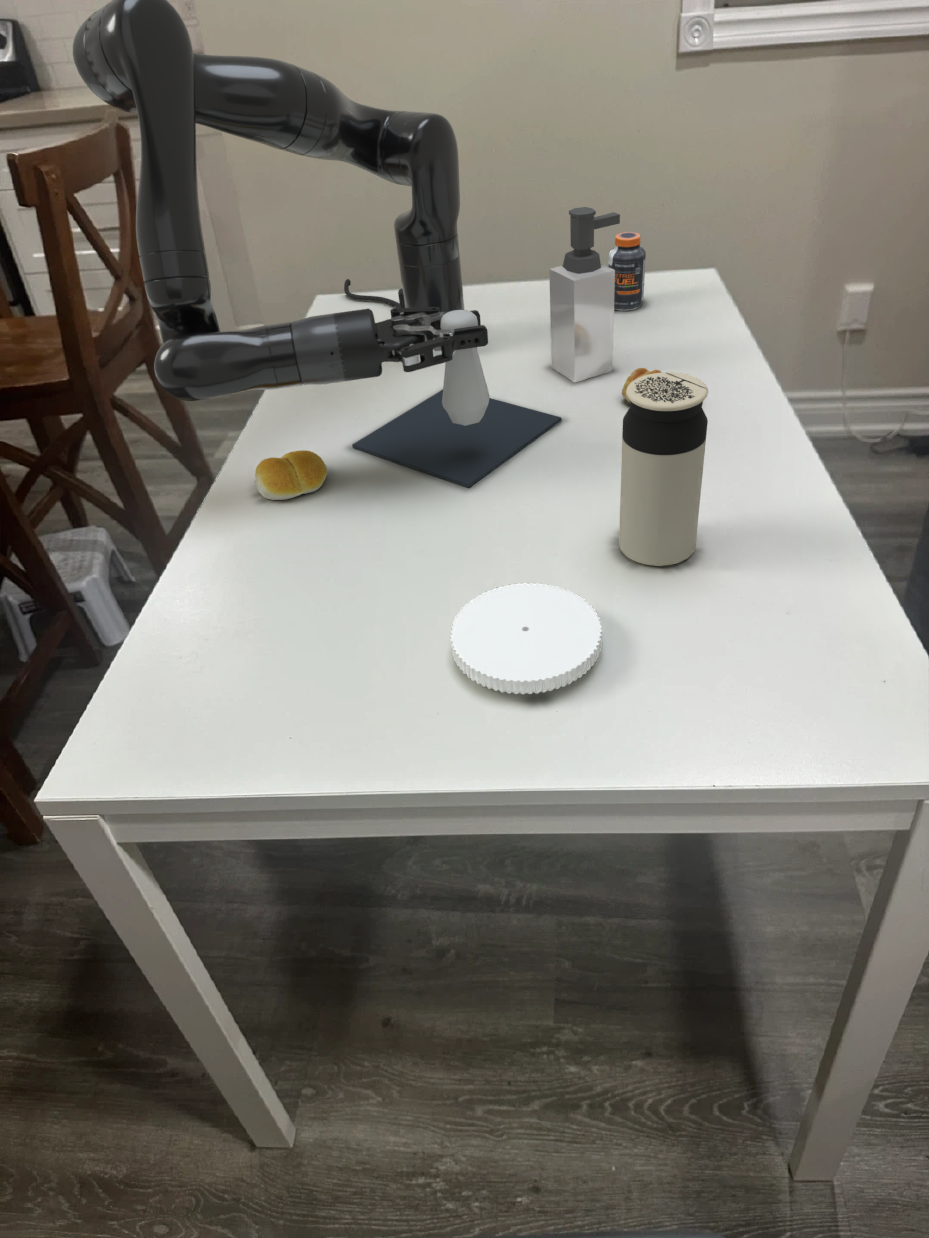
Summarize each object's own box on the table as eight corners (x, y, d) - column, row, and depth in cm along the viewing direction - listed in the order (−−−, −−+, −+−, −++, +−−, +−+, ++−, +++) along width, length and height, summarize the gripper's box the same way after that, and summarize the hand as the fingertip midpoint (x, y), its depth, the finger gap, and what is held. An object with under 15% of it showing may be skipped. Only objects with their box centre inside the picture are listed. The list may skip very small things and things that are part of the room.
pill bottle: (606, 312, 144) (608, 241, 137) (608, 299, 149) (609, 230, 142) (643, 311, 143) (646, 239, 136) (643, 298, 148) (646, 228, 141)
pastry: (702, 402, 117) (705, 375, 114) (673, 422, 113) (675, 395, 111) (645, 385, 122) (646, 359, 120) (615, 403, 119) (616, 377, 116)
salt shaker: (496, 409, 108) (490, 305, 100) (482, 430, 104) (474, 324, 96) (452, 405, 110) (443, 303, 102) (437, 426, 106) (425, 322, 97)
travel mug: (649, 577, 88) (658, 416, 77) (604, 541, 94) (606, 385, 82) (711, 551, 91) (729, 391, 79) (663, 517, 96) (674, 363, 85)
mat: (352, 447, 115) (351, 444, 115) (447, 389, 127) (447, 386, 126) (468, 488, 105) (468, 484, 105) (561, 420, 116) (561, 417, 116)
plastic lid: (448, 704, 77) (445, 684, 75) (456, 605, 87) (454, 585, 86) (607, 700, 75) (607, 679, 74) (596, 600, 86) (596, 580, 85)
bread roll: (337, 486, 108) (331, 458, 105) (269, 509, 105) (261, 480, 103) (315, 459, 114) (309, 432, 111) (250, 480, 111) (242, 452, 108)
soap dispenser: (625, 367, 127) (631, 207, 113) (574, 382, 125) (573, 221, 111) (601, 352, 132) (603, 197, 118) (551, 367, 129) (547, 211, 115)
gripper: (333, 339, 91) (493, 317, 92) (328, 294, 102) (470, 274, 103) (345, 405, 96) (497, 383, 97) (339, 355, 107) (475, 336, 108)
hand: (482, 327), depth 100 cm, fingers closed on salt shaker, 4 cm apart
